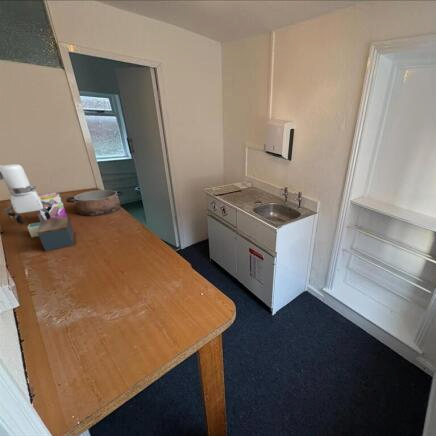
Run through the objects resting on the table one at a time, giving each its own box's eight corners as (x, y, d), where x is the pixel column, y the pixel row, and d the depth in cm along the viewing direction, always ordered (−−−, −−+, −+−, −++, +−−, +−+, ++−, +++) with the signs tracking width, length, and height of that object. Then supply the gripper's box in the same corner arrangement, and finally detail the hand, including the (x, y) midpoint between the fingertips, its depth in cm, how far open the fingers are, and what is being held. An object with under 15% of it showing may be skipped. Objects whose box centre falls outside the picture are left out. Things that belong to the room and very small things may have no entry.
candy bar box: (45, 225, 133) (33, 198, 127) (41, 223, 135) (29, 196, 129) (69, 218, 143) (59, 193, 136) (65, 217, 144) (55, 192, 138)
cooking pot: (71, 220, 141) (65, 203, 137) (71, 209, 156) (66, 194, 152) (129, 210, 159) (125, 195, 154) (125, 201, 174) (121, 187, 170)
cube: (31, 237, 120) (27, 227, 118) (33, 233, 124) (29, 224, 122) (46, 234, 124) (42, 225, 121) (47, 230, 128) (43, 221, 125)
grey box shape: (45, 251, 110) (37, 232, 106) (48, 237, 121) (41, 220, 117) (73, 245, 116) (66, 227, 112) (74, 233, 127) (68, 216, 123)
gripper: (46, 185, 122) (58, 215, 129) (-4, 191, 112) (13, 223, 119) (44, 189, 117) (57, 219, 124) (-8, 195, 107) (9, 228, 114)
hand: (35, 221), depth 121 cm, fingers open, 9 cm apart
